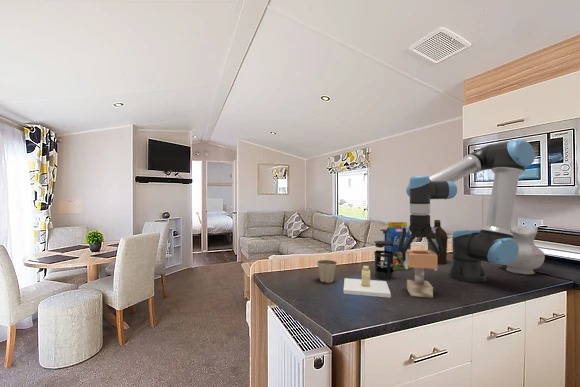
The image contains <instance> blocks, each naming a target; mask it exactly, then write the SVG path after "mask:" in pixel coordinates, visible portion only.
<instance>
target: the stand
mask: <svg viewBox="0 0 580 387" xmlns="http://www.w3.org/2000/svg"><path fill="white" fill-rule="evenodd" d="M406 290H407V291H408V293H409V295H410V296H411V297H423V298H432V299H433V298H434V287H433V286H432V284H431V283H430V282H429V281H428V280H425V268H414V279H406Z"/></svg>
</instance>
